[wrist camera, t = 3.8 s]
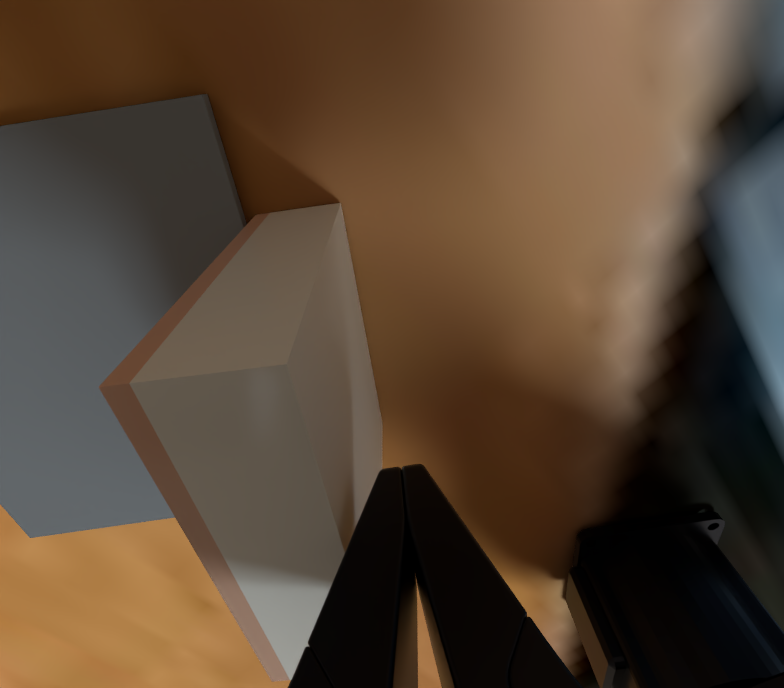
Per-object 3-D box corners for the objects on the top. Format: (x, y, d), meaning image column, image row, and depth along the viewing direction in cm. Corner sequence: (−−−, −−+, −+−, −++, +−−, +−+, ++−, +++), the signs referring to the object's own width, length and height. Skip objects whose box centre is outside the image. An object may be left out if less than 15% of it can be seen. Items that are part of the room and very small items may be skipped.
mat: (207, 94, 11) (202, 94, 10) (326, 487, 18) (326, 495, 18) (-272, 168, 11) (-293, 171, 11) (36, 529, 18) (30, 538, 18)
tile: (341, 202, 12) (286, 363, 5) (382, 422, 16) (381, 672, 10) (256, 214, 12) (98, 387, 6) (318, 429, 17) (272, 681, 10)
